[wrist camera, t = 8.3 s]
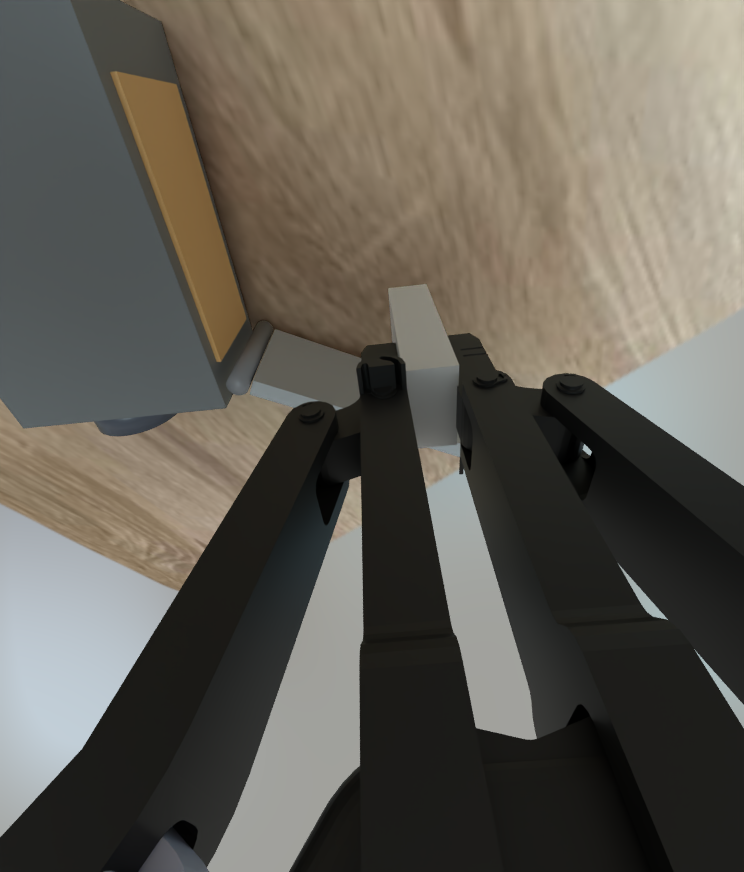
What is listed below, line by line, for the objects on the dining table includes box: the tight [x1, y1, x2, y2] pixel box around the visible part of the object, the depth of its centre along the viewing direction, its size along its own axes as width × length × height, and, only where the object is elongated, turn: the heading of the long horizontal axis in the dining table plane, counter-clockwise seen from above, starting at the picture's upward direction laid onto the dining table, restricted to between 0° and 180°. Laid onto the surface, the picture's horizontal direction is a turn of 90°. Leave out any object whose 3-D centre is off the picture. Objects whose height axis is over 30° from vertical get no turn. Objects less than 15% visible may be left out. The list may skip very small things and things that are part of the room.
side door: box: [226, 321, 460, 457], centre depth 23 cm, size 13×2×7 cm, turn 69°
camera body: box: [0, 0, 253, 436], centre depth 18 cm, size 16×10×8 cm, turn 6°
